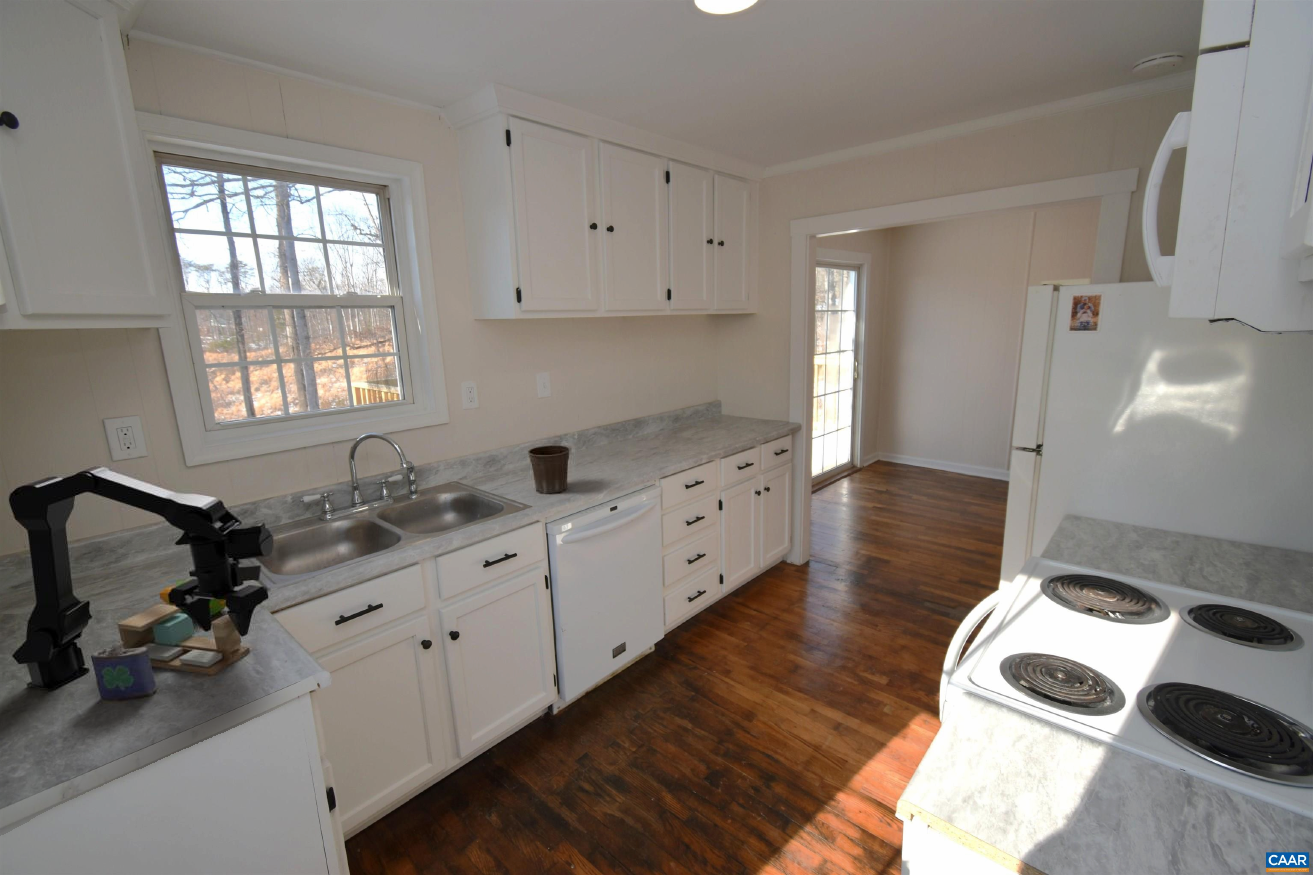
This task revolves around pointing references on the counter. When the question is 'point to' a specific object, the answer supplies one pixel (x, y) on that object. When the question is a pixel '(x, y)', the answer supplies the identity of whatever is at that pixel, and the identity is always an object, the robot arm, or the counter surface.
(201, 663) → the strip
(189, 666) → the board
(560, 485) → the plant pot
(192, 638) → the strip
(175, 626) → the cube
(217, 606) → the corn
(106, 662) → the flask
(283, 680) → the counter surface
